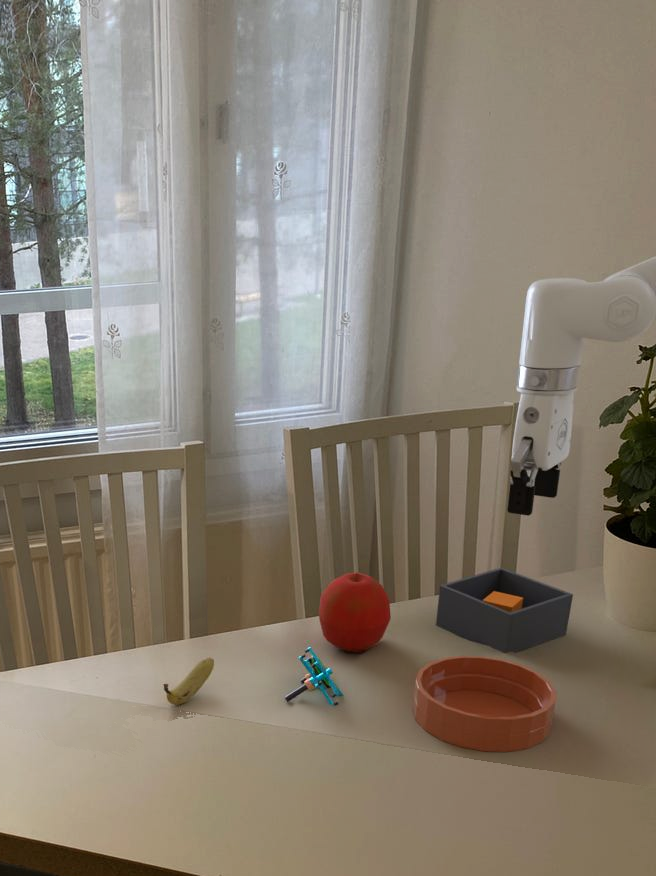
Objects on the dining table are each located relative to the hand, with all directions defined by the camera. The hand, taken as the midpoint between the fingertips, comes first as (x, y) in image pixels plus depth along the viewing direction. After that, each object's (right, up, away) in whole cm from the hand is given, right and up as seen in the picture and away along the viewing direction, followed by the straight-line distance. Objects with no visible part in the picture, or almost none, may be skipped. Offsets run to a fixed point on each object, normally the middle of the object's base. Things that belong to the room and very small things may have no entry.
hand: (532, 504), depth 127 cm
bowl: (-12, -29, -14) cm, 34 cm away
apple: (-24, -20, +6) cm, 32 cm away
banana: (-48, -27, -7) cm, 56 cm away
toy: (-1, -17, +9) cm, 19 cm away
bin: (-1, -17, +9) cm, 20 cm away
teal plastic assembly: (-32, -26, -7) cm, 42 cm away
